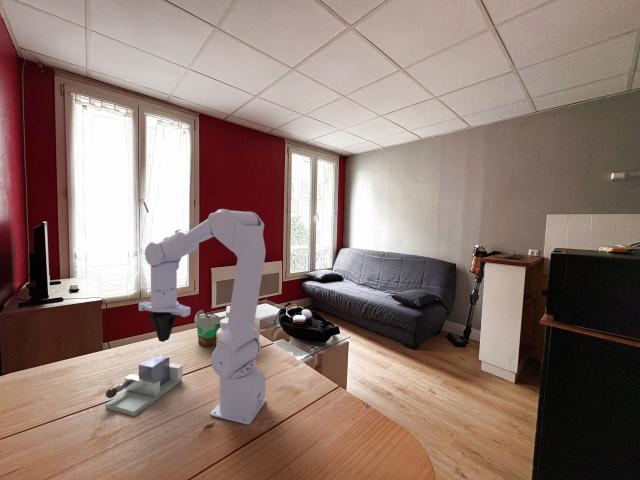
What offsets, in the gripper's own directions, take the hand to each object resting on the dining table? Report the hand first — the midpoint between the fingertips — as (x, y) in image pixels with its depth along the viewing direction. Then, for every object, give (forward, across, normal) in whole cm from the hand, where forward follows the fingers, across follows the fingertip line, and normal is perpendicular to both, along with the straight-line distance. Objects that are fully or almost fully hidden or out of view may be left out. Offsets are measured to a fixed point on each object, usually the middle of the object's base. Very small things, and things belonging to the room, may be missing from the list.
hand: (164, 339), depth 67 cm
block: (+9, -1, +4) cm, 10 cm away
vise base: (+10, -1, +6) cm, 12 cm away
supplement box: (+11, -7, -23) cm, 26 cm away
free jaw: (+9, -1, +9) cm, 13 cm away
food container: (+11, +3, -20) cm, 23 cm away
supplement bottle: (+11, -11, -12) cm, 19 cm away
